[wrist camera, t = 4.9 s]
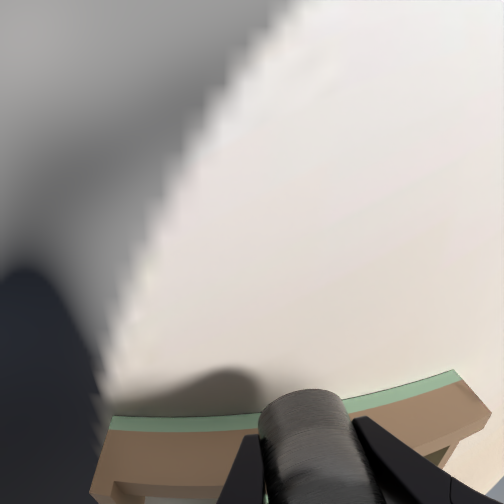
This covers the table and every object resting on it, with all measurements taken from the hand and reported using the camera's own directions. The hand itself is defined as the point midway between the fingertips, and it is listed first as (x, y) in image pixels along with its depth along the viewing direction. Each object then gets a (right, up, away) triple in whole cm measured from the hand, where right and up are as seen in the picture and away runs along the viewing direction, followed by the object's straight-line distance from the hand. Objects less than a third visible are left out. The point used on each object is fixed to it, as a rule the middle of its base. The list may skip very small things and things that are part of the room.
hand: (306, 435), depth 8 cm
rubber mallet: (0, -7, +4) cm, 9 cm away
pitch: (+1, -9, +6) cm, 10 cm away
